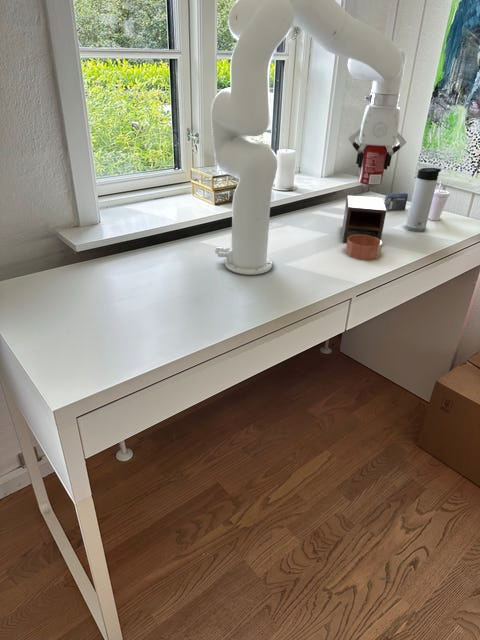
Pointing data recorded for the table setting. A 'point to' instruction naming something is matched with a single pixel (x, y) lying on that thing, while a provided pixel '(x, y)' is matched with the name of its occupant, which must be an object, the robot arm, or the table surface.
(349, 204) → the desk shelf
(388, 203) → the mini dv tape
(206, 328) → the table surface
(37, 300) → the table surface
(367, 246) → the can holder
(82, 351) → the table surface
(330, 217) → the table surface
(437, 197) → the smoothie
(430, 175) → the travel mug
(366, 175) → the soda can
